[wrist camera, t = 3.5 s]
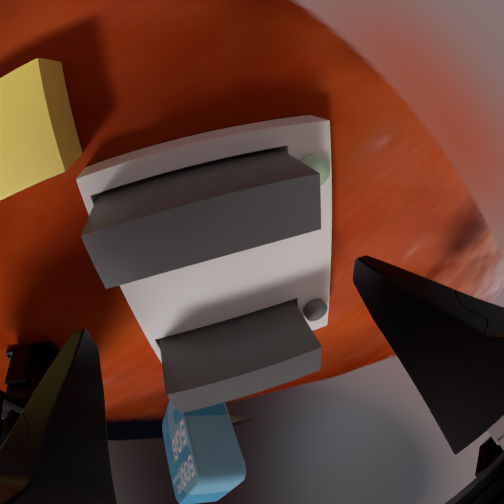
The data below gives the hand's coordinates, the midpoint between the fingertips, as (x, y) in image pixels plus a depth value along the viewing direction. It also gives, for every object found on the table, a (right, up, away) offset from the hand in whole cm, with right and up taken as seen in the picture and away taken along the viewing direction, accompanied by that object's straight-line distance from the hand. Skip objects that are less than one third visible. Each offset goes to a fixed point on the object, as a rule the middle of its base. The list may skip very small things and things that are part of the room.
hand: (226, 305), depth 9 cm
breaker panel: (-1, +1, +13) cm, 13 cm away
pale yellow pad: (-17, +8, +3) cm, 19 cm away
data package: (-7, -16, +23) cm, 29 cm away
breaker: (-1, -5, +15) cm, 16 cm away
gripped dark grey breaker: (-3, +5, +9) cm, 10 cm away
